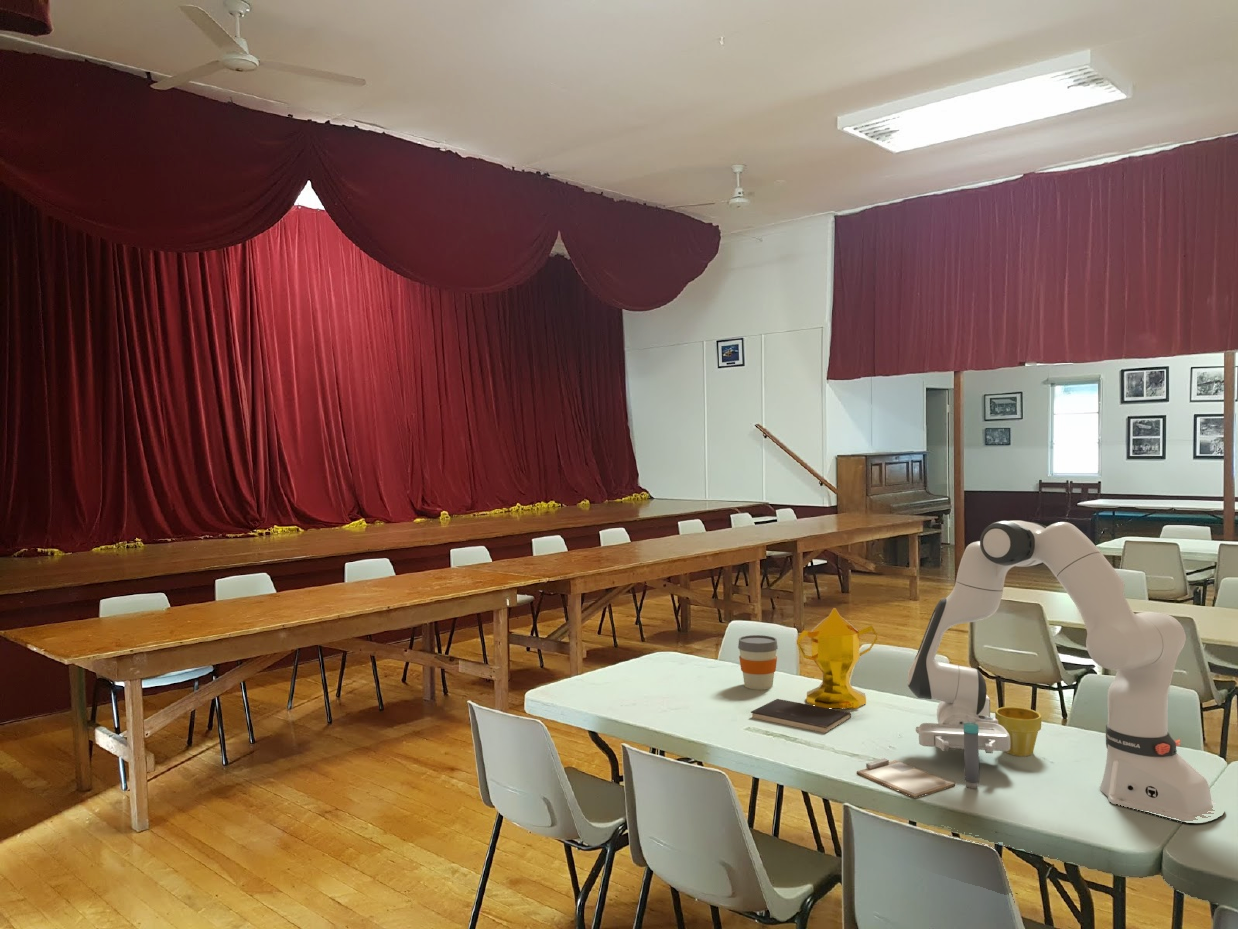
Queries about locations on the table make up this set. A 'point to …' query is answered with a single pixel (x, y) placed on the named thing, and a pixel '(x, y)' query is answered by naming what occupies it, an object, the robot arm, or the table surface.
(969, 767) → the marker
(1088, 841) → the table surface
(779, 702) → the hardcover book
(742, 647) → the reusable coffee cup
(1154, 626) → the robot arm
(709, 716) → the table surface
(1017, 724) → the plant pot
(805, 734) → the table surface
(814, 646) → the trophy cup
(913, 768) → the clipboard
